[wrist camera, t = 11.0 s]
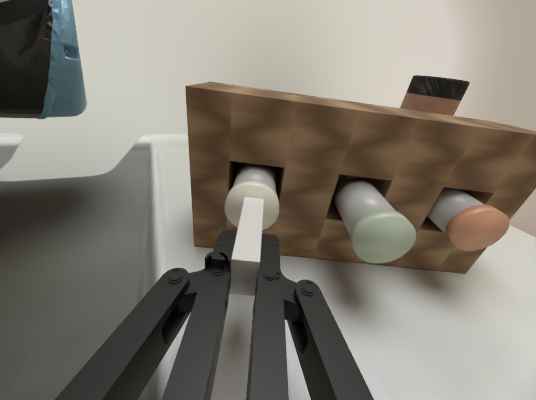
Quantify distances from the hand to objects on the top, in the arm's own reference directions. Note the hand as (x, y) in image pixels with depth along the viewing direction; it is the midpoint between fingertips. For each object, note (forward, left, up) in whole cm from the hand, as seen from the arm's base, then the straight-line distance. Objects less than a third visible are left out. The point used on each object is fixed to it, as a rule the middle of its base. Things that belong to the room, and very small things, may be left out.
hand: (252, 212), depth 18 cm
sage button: (+10, +1, -2) cm, 10 cm away
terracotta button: (+20, +4, -2) cm, 20 cm away
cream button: (0, +4, -2) cm, 4 cm away
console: (+10, +8, -8) cm, 15 cm away
